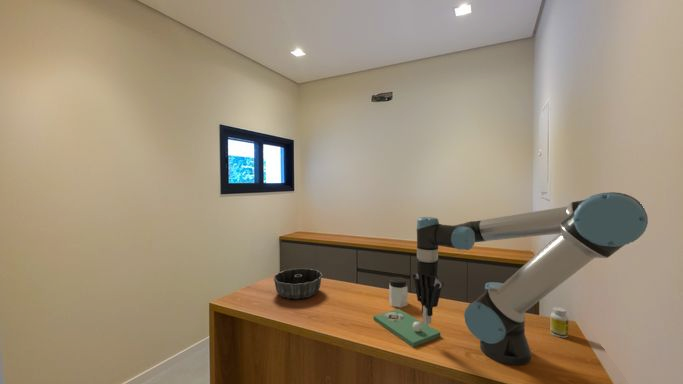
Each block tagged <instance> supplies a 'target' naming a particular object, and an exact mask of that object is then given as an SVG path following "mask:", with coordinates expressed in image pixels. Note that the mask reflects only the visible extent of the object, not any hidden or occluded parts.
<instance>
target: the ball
mask: <svg viewBox="0 0 683 384" xmlns="http://www.w3.org/2000/svg"><path fill="white" fill-rule="evenodd" d="M413 329H414V331H416V332H420V331H421V330H422V325H421V323H420V322H414V323H413Z"/></svg>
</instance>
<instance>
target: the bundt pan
mask: <svg viewBox="0 0 683 384" xmlns="http://www.w3.org/2000/svg"><path fill="white" fill-rule="evenodd" d="M322 278H323V273H322V272H321V271H319V270H318V269H312V268H302V267H301V268H292V269H286V270H283V271H279V272H277V274H275V275H274V276H273V281H274V285H275V290H276V293H277V294H278V295H280V296H281V297H282V298H287V300H291V299H294V300H299V299H302V300H303V299H305V298H310V297H312V296H314V295H316V294H317V293H318V291H319V290H320V288H321V283H322V282H321V281H322Z"/></svg>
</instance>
